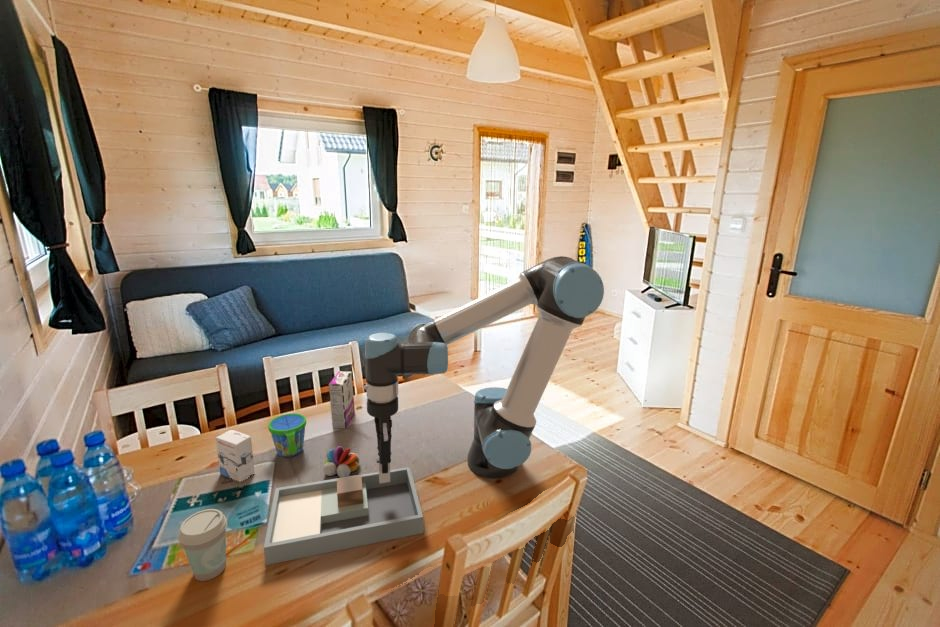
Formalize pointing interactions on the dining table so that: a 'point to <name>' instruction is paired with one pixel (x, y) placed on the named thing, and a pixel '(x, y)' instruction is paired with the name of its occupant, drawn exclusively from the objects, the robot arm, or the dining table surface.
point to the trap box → (340, 516)
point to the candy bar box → (341, 399)
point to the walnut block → (349, 491)
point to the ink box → (235, 455)
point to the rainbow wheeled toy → (340, 462)
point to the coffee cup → (205, 543)
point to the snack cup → (288, 434)
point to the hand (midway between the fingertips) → (384, 480)
